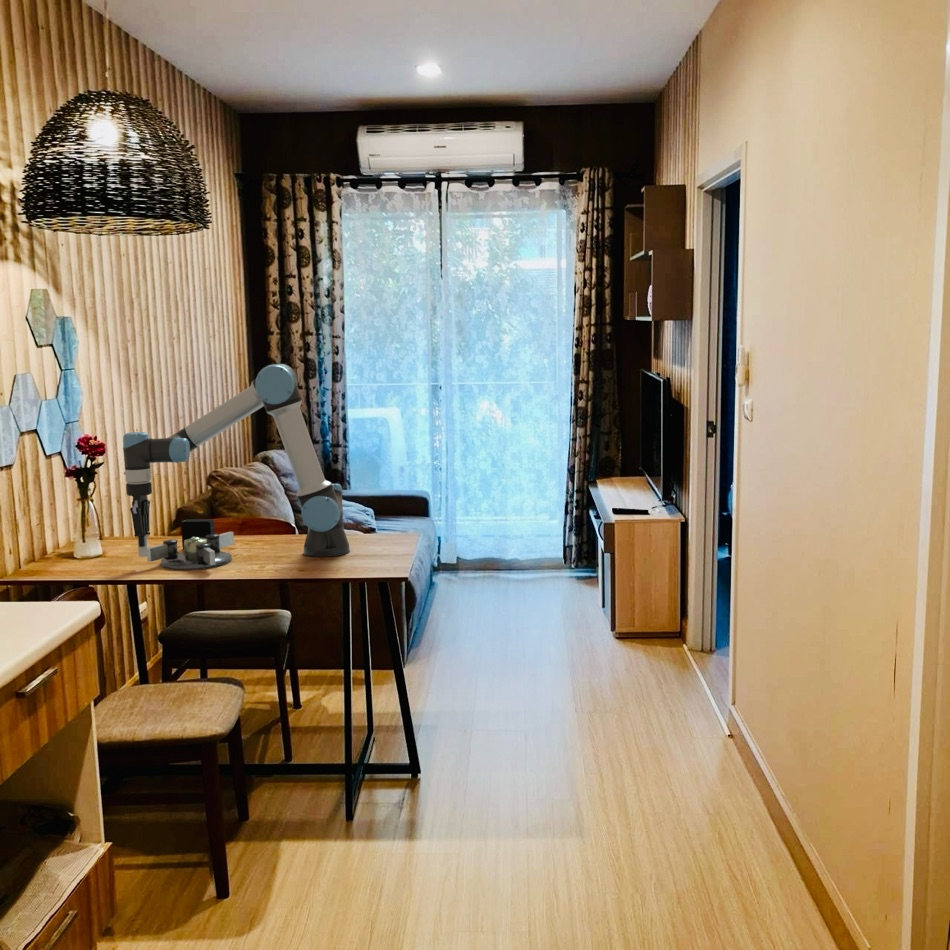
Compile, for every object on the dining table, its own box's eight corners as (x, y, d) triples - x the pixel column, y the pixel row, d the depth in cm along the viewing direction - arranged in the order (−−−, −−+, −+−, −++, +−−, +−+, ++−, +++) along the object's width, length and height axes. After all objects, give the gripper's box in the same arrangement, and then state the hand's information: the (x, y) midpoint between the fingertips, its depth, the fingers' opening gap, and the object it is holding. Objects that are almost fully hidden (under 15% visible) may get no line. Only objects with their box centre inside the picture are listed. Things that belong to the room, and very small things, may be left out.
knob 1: (171, 556, 314) (170, 538, 313) (181, 557, 312) (180, 540, 311) (144, 563, 304) (143, 545, 303) (154, 564, 302) (153, 547, 301)
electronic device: (211, 550, 328) (210, 521, 327) (182, 550, 329) (180, 521, 327) (215, 547, 333) (213, 518, 331) (186, 547, 333) (184, 519, 331)
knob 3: (214, 554, 315) (213, 537, 315) (203, 553, 317) (202, 536, 317) (237, 547, 325) (236, 530, 324) (227, 546, 327) (226, 529, 326)
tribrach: (246, 557, 316) (244, 532, 315) (198, 573, 297) (196, 546, 296) (195, 551, 326) (193, 527, 325) (145, 566, 307) (144, 540, 306)
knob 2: (195, 561, 305) (193, 544, 305) (208, 559, 308) (207, 542, 307) (205, 568, 296) (204, 550, 295) (220, 566, 298) (218, 548, 298)
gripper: (132, 479, 306) (138, 551, 310) (119, 485, 294) (125, 561, 297) (156, 478, 307) (161, 550, 310) (144, 485, 294) (150, 560, 298)
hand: (143, 555), depth 304 cm, fingers closed
